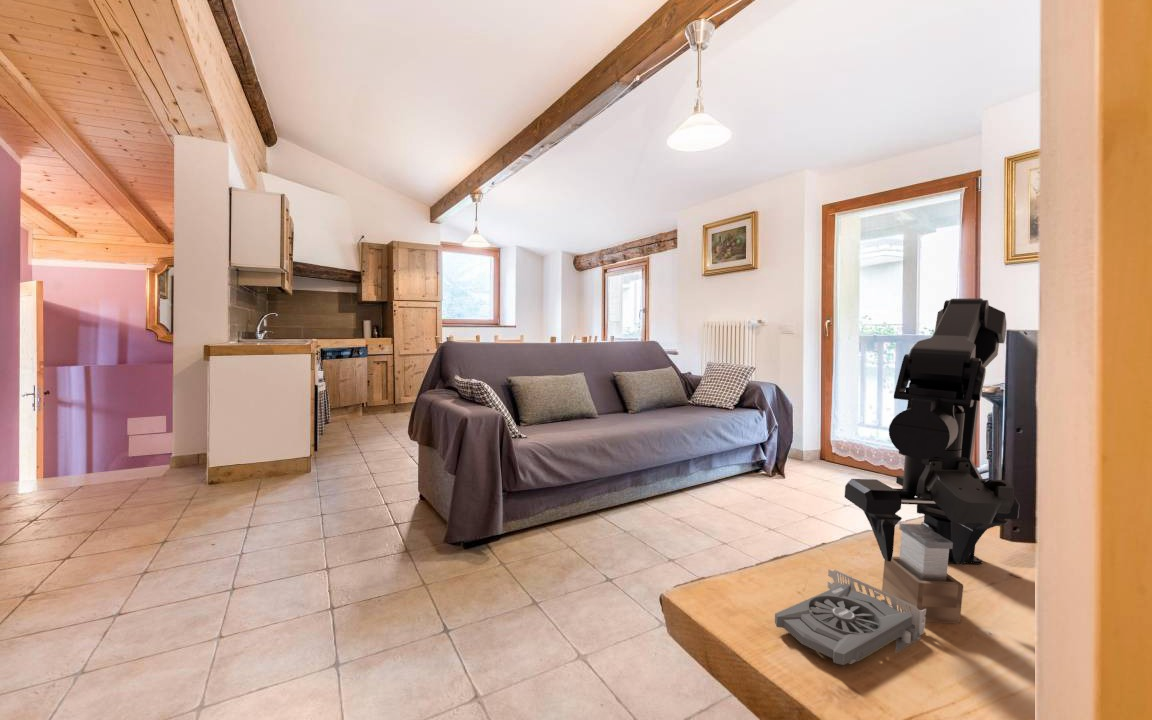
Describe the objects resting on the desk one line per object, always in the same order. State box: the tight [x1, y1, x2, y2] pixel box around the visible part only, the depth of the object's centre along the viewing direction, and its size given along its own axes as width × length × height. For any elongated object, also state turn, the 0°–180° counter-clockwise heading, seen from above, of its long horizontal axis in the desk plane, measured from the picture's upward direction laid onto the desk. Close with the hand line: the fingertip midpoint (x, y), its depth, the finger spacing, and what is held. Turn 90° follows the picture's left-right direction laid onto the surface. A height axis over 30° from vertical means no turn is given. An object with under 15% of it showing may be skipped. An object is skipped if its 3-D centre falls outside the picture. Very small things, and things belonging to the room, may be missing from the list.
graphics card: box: [774, 569, 926, 666], centre depth 58 cm, size 17×4×12 cm
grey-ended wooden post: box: [898, 523, 953, 582], centre depth 63 cm, size 6×3×8 cm, turn 179°
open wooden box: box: [881, 555, 964, 624], centre depth 63 cm, size 5×7×5 cm
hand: (922, 561), depth 63 cm, fingers open, 9 cm apart
